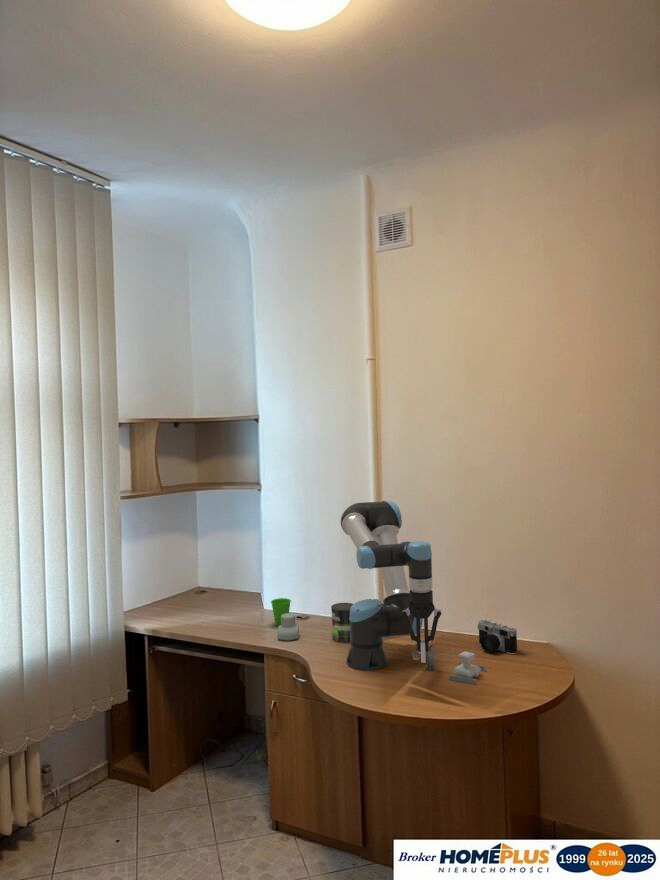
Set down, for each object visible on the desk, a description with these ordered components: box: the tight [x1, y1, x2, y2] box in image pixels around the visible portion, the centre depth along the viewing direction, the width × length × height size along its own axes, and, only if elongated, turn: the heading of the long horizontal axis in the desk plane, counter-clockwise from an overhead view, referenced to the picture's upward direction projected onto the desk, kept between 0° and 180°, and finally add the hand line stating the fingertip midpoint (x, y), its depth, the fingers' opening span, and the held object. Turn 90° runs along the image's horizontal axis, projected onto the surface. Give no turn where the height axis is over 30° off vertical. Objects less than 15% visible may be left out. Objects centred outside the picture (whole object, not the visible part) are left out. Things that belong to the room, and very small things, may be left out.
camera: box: [477, 617, 518, 654], centre depth 231 cm, size 18×10×10 cm, turn 36°
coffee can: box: [330, 602, 354, 644], centre depth 247 cm, size 10×10×14 cm
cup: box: [270, 597, 292, 628], centre depth 267 cm, size 9×9×11 cm
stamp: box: [453, 650, 482, 679], centre depth 207 cm, size 9×7×8 cm
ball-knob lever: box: [411, 636, 436, 661], centre depth 206 cm, size 20×4×2 cm, turn 155°
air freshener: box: [277, 612, 300, 642], centre depth 250 cm, size 11×8×10 cm
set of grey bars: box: [425, 644, 486, 685], centre depth 210 cm, size 20×13×10 cm, turn 61°
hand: (423, 660), depth 199 cm, fingers closed
